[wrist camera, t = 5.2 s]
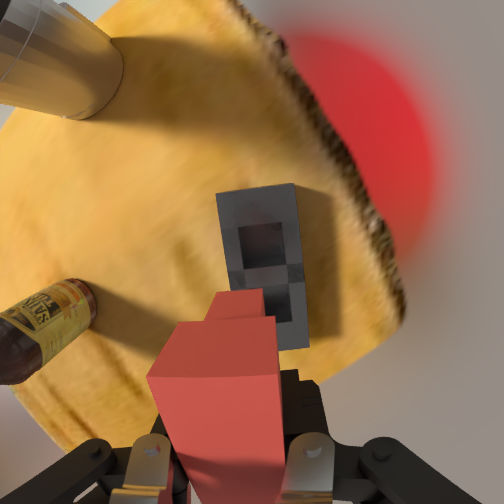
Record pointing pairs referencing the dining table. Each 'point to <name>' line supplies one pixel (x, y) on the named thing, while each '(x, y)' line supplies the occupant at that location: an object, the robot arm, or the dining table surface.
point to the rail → (267, 255)
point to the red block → (225, 400)
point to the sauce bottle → (42, 328)
